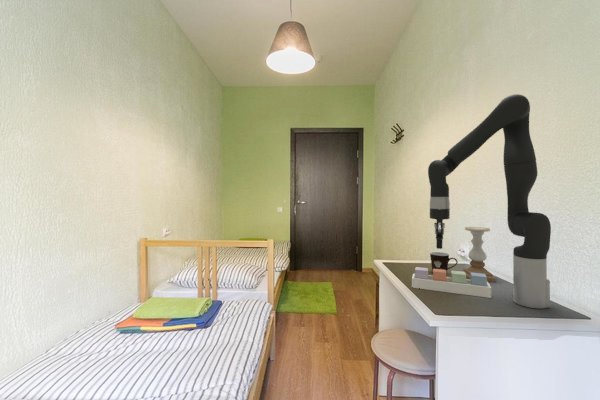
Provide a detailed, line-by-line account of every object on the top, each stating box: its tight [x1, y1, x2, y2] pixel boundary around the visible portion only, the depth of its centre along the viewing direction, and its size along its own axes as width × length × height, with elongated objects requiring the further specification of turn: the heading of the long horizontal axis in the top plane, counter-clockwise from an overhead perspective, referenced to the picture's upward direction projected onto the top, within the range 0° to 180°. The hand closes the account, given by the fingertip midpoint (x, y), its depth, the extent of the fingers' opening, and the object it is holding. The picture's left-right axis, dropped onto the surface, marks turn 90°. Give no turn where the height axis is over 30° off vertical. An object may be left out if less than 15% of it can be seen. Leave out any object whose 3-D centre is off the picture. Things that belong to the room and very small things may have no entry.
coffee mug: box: [429, 251, 458, 276], centre depth 137 cm, size 12×9×10 cm
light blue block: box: [471, 273, 487, 287], centre depth 110 cm, size 5×5×4 cm
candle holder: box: [460, 226, 496, 283], centre depth 130 cm, size 11×11×24 cm
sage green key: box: [450, 270, 466, 284], centre depth 113 cm, size 5×5×4 cm
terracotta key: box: [432, 269, 447, 282], centre depth 116 cm, size 5×5×4 cm
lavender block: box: [414, 266, 429, 280], centre depth 119 cm, size 5×5×4 cm
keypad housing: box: [411, 273, 492, 299], centre depth 115 cm, size 28×8×4 cm, turn 63°
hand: (439, 248), depth 116 cm, fingers closed
